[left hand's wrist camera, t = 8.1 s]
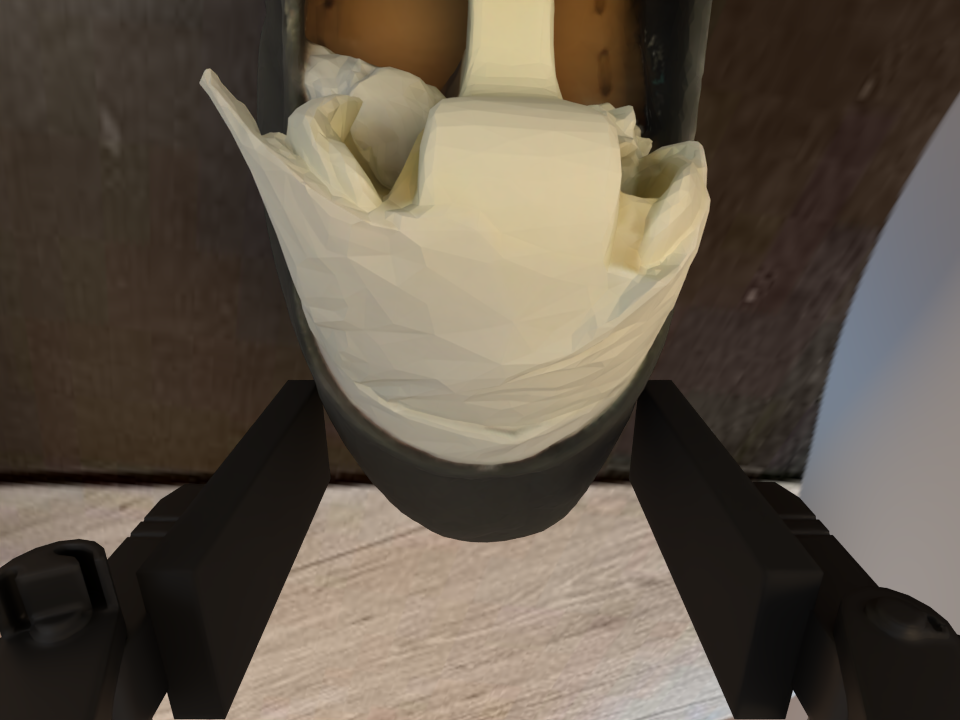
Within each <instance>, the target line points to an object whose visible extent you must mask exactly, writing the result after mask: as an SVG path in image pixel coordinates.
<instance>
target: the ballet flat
mask: <svg viewBox="0 0 960 720" xmlns="http://www.w3.org/2000/svg"><path fill="white" fill-rule="evenodd" d="M711 5H712V0H265V6H266V17H265V21H264V24H263V28H262V32H261V38H260V45H259V56H258V73H257V123H256V121H255V120H254V118H253V117H252V115H251V114H250V112H249V110H248V109H247V107H246V106H245V105H244V104H243V103H242V102H240V101H238V100H237V99H236V98H235V97H234V96H233V95H232V94H231V93H230V92H229V90H228V89H227V88H226V87H225V86H224V85H223V84H222V83H221V81H220V79H219V77H218V76H217V75H216V74H215V73H214V72H213V71H212V70H211V69H206V70H205V71H204V73H203V76H202V78H201V80H200V85H201V86H202V87H203V88H204V90H205V91H206V92H207V94H208V95H209V96H210V98H211V100H212V101H213V103H214V105H215V106H216V108H217V110H218V111H219V113H220V114H221V116H222V118H223V119H224V121H225V123H226V124H227V126H228V128H229V129H230V131H231V133H232V135H233V137H234V139H235V141H236V143H237V145H238V147H239V149H240V151H241V153H242V155H243V157H244V159H245V160H246V162H247V164H248V166H249V168H250V170H251V172H252V175H253V177H254V180H255V182H256V185H257V187H258V190H259V192H260V195H261V197H262V200H263V204H264V211H265V218H266V223H267V229H268V234H269V239H270V243H271V248H272V252H273V257H274V261H275V265H276V270H277V273H278V277H279V280H280V284H281V287H282V291H283V294H284V298H285V301H286V305H287V309H288V312H289V316H290V319H291V322H292V325H293V328H294V331H295V333H296V336H297V339H298V341H299V344H300V347H301V350H302V352H303V355H304V357H305V359H306V362H307V364H308V366H309V368H310V371H311V373H312V375H313V378H314V380H315V383H316V386H317V390H318V394H319V397H320V399H321V401H322V403H323V405H324V408H325V410H326V412H327V414H328V416H329V418H330V420H331V421H332V423H333V425H334V427H335V429H336V430H337V432H338V434H339V436H340V437H341V439H342V441H343V443H344V444H345V446H346V447H347V449H348V450H349V451H350V453H351V454H352V456H353V457H354V458H355V460H356V461H357V463H358V464H359V466H360V467H361V469H362V470H363V471H364V473H365V474H366V475H367V476H368V478H369V479H370V480H371V482H372V483H373V484H374V485H375V486H376V487H377V488H378V489H379V490H380V491H381V492H382V493H383V494H384V495H385V497H386V498H387V499H388V500H389V501H390V502H391V503H392V504H393V505H394V506H395V507H396V508H398V509H399V510H400V511H401V512H402V513H403V514H405V515H406V516H408V517H409V518H411V519H412V520H414V521H416V522H418V523H419V524H421V525H423V526H424V527H426V528H427V529H429V530H430V531H432V532H435V533H437V534H439V535H441V536H444V537H448V538H452V539H457V540H461V541H468V542H497V541H506V540H511V539H516V538H521V537H525V536H529V535H532V534H535V533H538V532H541V531H544V530H545V529H547V528H549V527H550V526H552V525H554V524H555V523H557V522H558V521H560V520H561V519H562V518H564V517H565V516H566V515H567V514H568V513H569V512H570V510H571V509H572V508H573V507H574V506H575V505H576V504H577V502H578V501H579V500H580V498H581V497H582V496H583V495H584V493H585V492H586V491H587V489H588V487H589V486H590V484H591V483H592V481H593V480H594V478H595V477H596V475H597V474H598V472H599V470H600V469H601V467H602V466H603V464H604V463H605V461H606V459H607V458H608V456H609V454H610V452H611V451H612V449H613V447H614V445H615V444H616V442H617V440H618V438H619V436H620V434H621V433H622V431H623V429H624V427H625V425H626V424H627V422H628V420H629V418H630V415H631V413H632V411H633V408H634V405H635V402H636V400H637V399H638V397H639V396H640V394H641V393H642V391H643V390H644V388H645V386H646V384H647V382H648V380H649V378H650V376H651V374H652V372H653V370H654V367H655V365H656V363H657V361H658V358H659V356H660V354H661V352H662V349H663V347H664V345H665V341H666V338H667V334H668V331H669V327H670V324H671V321H672V317H673V313H674V308H675V302H676V300H677V297H678V295H679V293H680V290H681V288H682V285H683V283H684V280H685V278H686V275H687V272H688V269H689V267H690V265H691V263H692V261H693V259H694V257H695V255H696V253H697V251H698V248H699V244H700V241H701V237H702V234H703V230H704V227H705V224H706V220H707V217H708V213H709V208H710V197H709V194H708V191H707V188H706V181H707V165H706V159H705V153H704V149H703V146H702V145H701V144H700V143H699V142H697V141H694V137H695V132H696V126H697V114H698V103H699V97H700V92H701V79H702V76H703V72H704V63H705V53H706V45H707V37H708V29H709V21H710V13H711Z"/></svg>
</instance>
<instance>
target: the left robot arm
mask: <svg viewBox="0 0 960 720" xmlns="http://www.w3.org/2000/svg"><path fill="white" fill-rule="evenodd" d="M330 479H331V478H330V469H329V459H328V450H327V441H326V431H325V422H324V413H323V403H322V401H321V399H320V397H319V394H318V390H317V386H316V383H315V380H288V381H287V382H286V384H285V385H284V386H283V387H282V389H281V390H280V391H279V393H278V394H277V395H276V396H275V398H274V399H273V400H272V401H271V403H270V404H269V405H268V406H267V408H266V409H265V410H264V411H263V413H262V414H261V415H260V416H259V418H258V419H257V420H256V422H255V423H254V424H253V425H252V427H251V428H250V429H249V430H248V432H247V433H246V434H245V435H244V437H243V438H242V439H241V440H240V442H239V443H238V444H237V445H236V447H235V448H234V449H233V451H232V452H231V453H230V454H229V456H228V457H227V458H226V459H225V461H224V462H223V463H222V464H221V466H220V467H219V468H218V469H217V471H216V472H215V473H214V474H213V476H212V477H211V478H210V480H209V481H208V482H207V483H206V484H184V485H183V486H181V487H180V488H178V489H176V490H175V491H173V492H172V493H170V494H169V495H167V496H165V497H164V498H162V499H161V500H160V501H159V502H158V503H157V504H156V505H155V506H154V508H153V509H152V510H151V511H150V512H149V513H148V514H147V515H146V517H145V518H144V522H140V523H139V525H138V526H137V527H136V528H135V529H134V530H133V531H132V532H131V536H130V537H127V538H126V539H125V540H124V541H123V543H122V544H121V545H120V546H119V547H118V548H117V549H116V550H115V552H114V553H113V554H112V555H111V556H110V557H109V558H108V560H107V557H106V553H105V550H104V548H103V547H102V546H100V545H99V544H98V543H96V542H95V541H89V540H82V539H75V540H66V541H58V542H55V543H51V544H48V545H44V546H41V547H38V548H35V549H33V550H31V551H28V552H26V553H24V554H22V555H20V556H18V557H16V558H14V559H12V560H11V561H9V562H8V563H6V564H5V565H4V566H2V567H1V568H0V633H1V636H2V637H1V638H0V720H153V719H152V717H153V716H154V714H155V712H156V710H157V709H158V707H159V705H160V703H161V701H162V700H163V698H164V696H165V694H166V693H168V697H169V701H170V705H171V709H172V712H173V716H174V719H225V718H226V716H227V714H228V711H229V709H230V707H231V704H232V702H233V700H234V698H235V695H236V693H237V691H238V688H239V686H240V684H241V682H242V679H243V677H244V675H245V672H246V670H247V668H248V666H249V663H250V661H251V659H252V657H253V654H254V652H255V650H256V647H257V645H258V643H259V641H260V638H261V636H262V634H263V631H264V629H265V627H266V625H267V622H268V620H269V618H270V615H271V613H272V611H273V609H274V606H275V604H276V602H277V600H278V597H279V595H280V593H281V590H282V588H283V586H284V584H285V581H286V579H287V577H288V574H289V572H290V570H291V568H292V565H293V563H294V561H295V558H296V556H297V554H298V552H299V549H300V547H301V545H302V543H303V540H304V538H305V536H306V533H307V531H308V529H309V527H310V524H311V522H312V520H313V517H314V515H315V513H316V511H317V508H318V506H319V504H320V501H321V499H322V497H323V495H324V492H325V490H326V488H327V486H328V483H329V481H330ZM629 480H630V482H631V484H632V486H633V489H634V491H635V493H636V496H637V498H638V500H639V502H640V505H641V507H642V509H643V512H644V514H645V516H646V518H647V521H648V523H649V525H650V527H651V530H652V532H653V534H654V537H655V539H656V541H657V543H658V546H659V548H660V550H661V553H662V555H663V557H664V559H665V562H666V564H667V566H668V569H669V571H670V573H671V575H672V578H673V580H674V582H675V585H676V587H677V589H678V591H679V594H680V596H681V598H682V600H683V603H684V605H685V607H686V610H687V612H688V614H689V616H690V619H691V621H692V623H693V626H694V628H695V630H696V632H697V635H698V637H699V639H700V642H701V644H702V646H703V648H704V651H705V653H706V655H707V658H708V660H709V662H710V664H711V667H712V669H713V671H714V673H715V676H716V678H717V680H718V683H719V685H720V687H721V689H722V692H723V694H724V696H725V699H726V701H727V703H728V705H729V708H730V710H731V712H732V715H733V717H734V719H785V718H786V714H787V711H788V707H789V703H790V699H791V695H792V692H793V690H794V692H795V694H796V696H797V697H798V699H799V701H800V703H801V705H802V706H803V708H804V710H805V711H806V713H807V715H808V720H960V635H957V634H956V632H955V631H954V630H953V628H952V627H951V625H950V624H949V623H948V621H947V620H945V619H944V618H943V617H942V616H941V615H939V614H938V613H937V612H936V611H934V610H933V609H932V608H931V607H929V606H927V605H926V604H924V603H922V602H920V601H918V600H916V599H914V598H913V597H911V596H909V595H906V594H903V593H900V592H897V591H894V590H891V589H888V588H882V587H879V586H878V585H877V584H876V583H875V582H874V581H873V580H872V579H871V577H870V576H869V575H868V574H867V573H866V572H865V571H864V570H863V568H862V567H861V566H860V565H859V564H858V563H857V562H856V561H855V560H854V558H853V557H852V556H851V555H850V554H849V553H848V552H847V551H846V549H845V548H844V547H843V546H842V545H841V544H840V543H839V542H838V540H837V539H836V538H835V537H834V536H833V535H830V534H829V530H828V529H827V528H826V527H825V526H824V525H823V524H822V522H821V521H820V520H816V516H815V515H814V513H813V512H812V511H811V510H810V509H809V508H808V507H807V506H806V504H805V503H804V502H803V501H802V500H801V499H800V498H799V497H798V496H796V495H794V494H793V493H791V492H790V491H788V490H786V489H785V488H783V487H782V486H780V485H779V484H777V483H775V482H752V481H751V480H750V479H749V478H748V476H747V475H746V474H745V473H744V471H743V470H742V469H741V467H740V466H739V465H738V464H737V462H736V461H735V460H734V459H733V457H732V456H731V455H730V454H729V452H728V451H727V450H726V449H725V447H724V446H723V445H722V444H721V442H720V441H719V440H718V438H717V437H716V436H715V435H714V433H713V432H712V431H711V430H710V428H709V427H708V426H707V425H706V423H705V422H704V421H703V420H702V418H701V417H700V416H699V415H698V413H697V412H696V411H695V409H694V408H693V407H692V406H691V404H690V403H689V402H688V401H687V399H686V398H685V397H684V396H683V394H682V393H681V392H680V391H679V389H678V388H677V387H676V386H675V384H674V383H673V382H672V380H648V382H647V384H646V386H645V388H644V390H643V391H642V393H641V394H640V396H639V397H638V399H637V409H636V418H635V427H634V437H633V446H632V455H631V465H630V474H629Z"/></svg>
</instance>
